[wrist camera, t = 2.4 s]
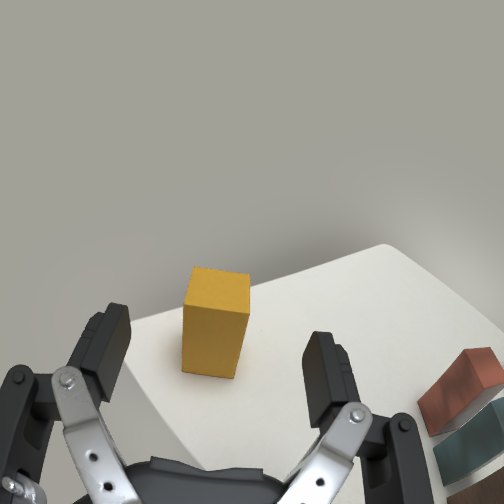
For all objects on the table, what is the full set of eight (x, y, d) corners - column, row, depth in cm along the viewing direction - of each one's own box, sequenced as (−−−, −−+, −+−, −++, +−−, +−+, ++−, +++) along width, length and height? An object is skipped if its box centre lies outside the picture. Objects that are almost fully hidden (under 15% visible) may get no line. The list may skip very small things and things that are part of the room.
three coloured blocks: (484, 517, 11) (550, 481, 6) (454, 535, 11) (526, 504, 6) (445, 396, 26) (490, 346, 22) (417, 401, 26) (464, 348, 21)
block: (233, 378, 26) (249, 313, 22) (181, 371, 26) (183, 303, 21) (235, 341, 31) (250, 274, 26) (189, 334, 30) (193, 265, 26)
